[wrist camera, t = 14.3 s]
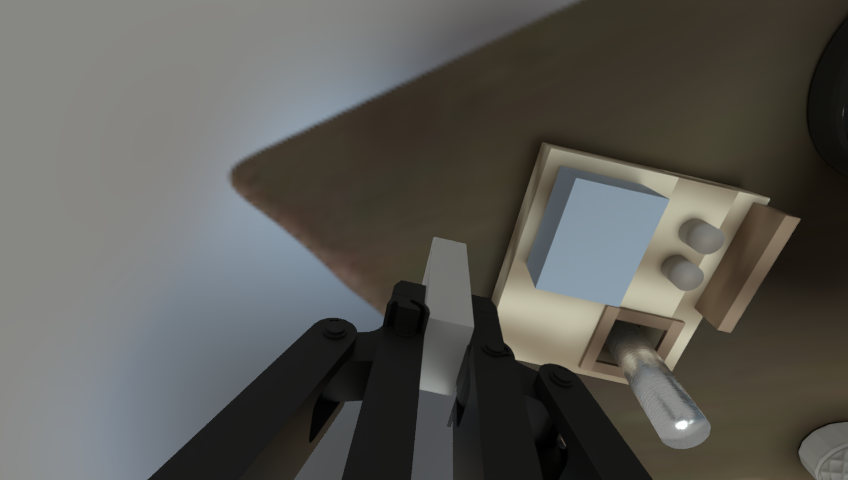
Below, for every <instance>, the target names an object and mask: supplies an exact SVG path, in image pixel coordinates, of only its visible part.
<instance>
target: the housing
mask: <svg viewBox="0 0 848 480" xmlns="http://www.w3.org/2000/svg"><path fill="white" fill-rule="evenodd" d="M669 200H670V199H668V198H667V197H665V196H663V195H661V194H659V193H657V192H656V191H654V190H652V189H650V188H648V187H646V186H645V185H643V184H638V183H634V182H630V181H625V180H621V179H617V178H612V177H608V176H604V175H599V174H595V173H591V172H586V171H582V170H577V169H573V168H569V167H564V166H561V167H560V169H559V172H558V175H557V178H556V181H555V184H554V187H553V189H552V192H551V195H550V198H549V201H548V204H547V207H546V209H545V212H544V215H543V218H542V221H541V224H540V227H539V230H538V232H537V235H536V238H535V241H534V244H533V247H532V250H531V252H530V255H529V258H528V261H527V264H526V266H527V269H528V271H529V274H530V276H531V279H532V281H533V284H534V287H535V289H540V290H544V291H548V292H553V293H557V294H562V295H566V296H571V297H575V298H579V299H584V300H588V301H593V302H597V303H602V304H606V305H610V306H615V307H619V306H620V304H621V302H622V300H623V298H624V296H625V294H626V291H627V289H628V287H629V285H630V283H631V281H632V279H633V277H634V274H635V272H636V270H637V268H638V266H639V264H640V262H641V260H642V258H643V255H644V253H645V251H646V249H647V247H648V245H649V243H650V241H651V238H652V236H653V234H654V232H655V230H656V228H657V226H658V224H659V222H660V219H661V217H662V215H663V213H664V211H665V209H666V207H667V205H668V202H669Z"/></svg>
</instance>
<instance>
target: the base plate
mask: <svg viewBox="0 0 848 480" xmlns="http://www.w3.org/2000/svg"><path fill="white" fill-rule="evenodd" d="M561 166H564V167H569V168H573V169H577V170H582V171H586V172H591V173H595V174H599V175H604V176H608V177H612V178H617V179H621V180H625V181H630V182H634V183H638V184H643V185H645V186H646V187H648V188H650V189H652V190H654V191H656V192H657V193H659V194H661V195H663V196H665V197H667V198H668V199H670V200H669V202H668V205H667V207H666V209H665V211H664V213H663V215H662V217H661V219H660V222H659V224H658V226H657V228H656V230H655V232H654V234H653V236H652V238H651V241H650V243H649V245H648V247H647V249H646V251H645V253H644V255H643V258H642V260H641V262H640V264H639V266H638V268H637V270H636V272H635V274H634V277H633V279H632V281H631V283H630V285H629V287H628V289H627V291H626V294H625V296H624V298H623V300H622V302H621V304H620V306H619V307H615V306H610V305H606V304H602V303H597V302H593V301H588V300H584V299H579V298H575V297H571V296H566V295H562V294H557V293H553V292H548V291H544V290H540V289H535V287H534V284H533V281H532V279H531V276H530V274H529V271H528V269H527V266H526V264H527V261H528V258H529V255H530V252H531V250H532V247H533V244H534V241H535V238H536V235H537V232H538V230H539V227H540V224H541V221H542V218H543V215H544V212H545V209H546V207H547V204H548V201H549V198H550V195H551V192H552V189H553V187H554V184H555V181H556V178H557V175H558V172H559V169H560V167H561ZM769 201H770V198H767V197H765V196H762V195H759V194H757V193H754V192H751V191H748V190H746V189H743V188H739V187H735V186H731V185H726V184H722V183H718V182H713V181H709V180H705V179H700V178H696V177H692V176H687V175H683V174H679V173H674V172H670V171H666V170H661V169H657V168H653V167H648V166H644V165H640V164H635V163H631V162H627V161H622V160H618V159H614V158H609V157H605V156H601V155H596V154H592V153H588V152H583V151H579V150H575V149H570V148H566V147H562V146H558V145H553V144H549V143H545V142H542V144H541V148H540V151H539V154H538V157H537V160H536V163H535V166H534V169H533V172H532V175H531V178H530V181H529V185H528V188H527V191H526V194H525V197H524V200H523V203H522V206H521V209H520V212H519V215H518V219H517V222H516V225H515V228H514V231H513V234H512V237H511V240H510V243H509V246H508V249H507V252H506V256H505V259H504V262H503V265H502V268H501V271H500V274H499V277H498V280H497V283H496V286H495V290H494V293H493V296H492V299H491V301H492V302H493V303H494V304H495V306H496V307H497V311H498V316H499V321H500V322H499V323H500V326H501V331H502V335H503V340H504V343H506V344H507V345H508V346H509V347H510V348H511V349H512V351H513V353H514V356H515V359H516V360H521V361H525V362H530V363H534V364H539V365H544V364H548V363H552V364H558V365H561V366H563V367H566V368H568V369H569V370H570V371H572V372H575V373H579V374H584V375H588V376H593V377H597V378H602V379H606V380H611V381H615V382H620V383H624V384H629V383H628V381H627V380H626V378H625V376H624V374H623V373H622V371H621V369H620V367H619V366H618V364H617V362H616V361H615V359H614V357H613V355H612V354H611V352H610V350H609V348H608V347H607V345H606V343H605V340H606V338H607V336H608V334H609V332H610V330H611V328H612V326H613V324H614V321H615V319H617V320H622V321H626V322H631V323H635V324H640V325H641V326H640V327H639V329H640V330H641V332H642V333H643V334H644V336H645V337H646V339H647V340H648V341H649V343H650V344H651V345H652V347H653V348H654V349H655V351H656V352H657V353H658V355H659V356H660V357H661V359H662V360H663V361H664V363H665V364H666V365H667V367H668V368H669V369H670V371H672V370H673V368H674V366H675V364H676V363H677V361H678V359H679V357H680V356H681V354H682V352H683V351H684V349H685V347H686V345H687V344H688V342H689V340H690V338H691V337H692V335H693V333H694V331H695V330H696V328H697V326H698V324H699V323H700V321H701V319H702V317H704V318H705V319H706V320H707V321H708V322H710V323H711V324H712V325H713V326H714V327H715V328H716V329H717V330H720V331H725V332H729V333H731V331H732V330H733V328H734V327H735V325H736V323H737V322H738V320H739V318H740V317H741V315H742V314H743V312H744V310H745V309H746V307H747V306H748V304H749V302H750V301H751V299H752V297H753V296H754V294H755V293H756V291H757V289H758V288H759V286H760V284H761V283H762V281H763V280H764V278H765V276H766V275H767V273H768V271H769V270H770V268H771V267H772V265H773V263H774V262H775V260H776V259H777V257H778V255H779V254H780V252H781V250H782V249H783V247H784V246H785V244H786V242H787V241H788V239H789V237H790V236H791V234H792V233H793V231H794V229H795V228H796V226H797V224H798V223H799V221H800V220H801V219H800V218H798V217H795V216H792V215H790V214H787V213H785V212H782V211H780V210H777V209H775V208H772V207H770V206H767V204H768V202H769Z"/></svg>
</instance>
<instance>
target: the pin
mask: <svg viewBox="0 0 848 480" xmlns="http://www.w3.org/2000/svg"><path fill="white" fill-rule="evenodd" d="M605 343H606V345H607V347H608V348H609V350H610V352H611V354H612V355H613V357H614V359H615V361H616V362H617V364H618V366H619V367H620V369H621V371H622V373H623V374H624V376H625V378H626V380H627V381H628V383H629V385H630V387H631V388H632V390H633V392H634V393H635V395H636V397H637V399H638V400H639V402H640V404H641V406H642V407H643V409H644V411H645V412H646V414H647V416H648V418H649V419H650V421H651V423H652V425H653V426H654V428H655V430H656V431H657V433H658V435H659V437H660V438H661V440H662V442H663V443H664V444H666V445H667V446H669V447H672V448H676V449H687V448H691V447H694V446H697V445H699V444H700V443H702V442H703V441H704V440H705V439H706V438H707V437H708V435H709V433H710V430H711V427H710V423H709V421H708V420H707V419H706V417H705V416H704V415H703V413H702V412H701V411H700V409H699V408H698V407H697V405H696V404H695V403H694V401H693V400H692V399H691V397H690V396H689V395H688V393H687V392H686V391H685V389H684V388H683V387H682V385H681V384H680V383H679V381H678V380H677V379H676V377H675V376H674V375H673V373H672V372H671V371H670V369H669V368H668V367H667V365H666V364H665V363H664V361H663V360H662V359H661V357H660V356H659V355H658V353H657V352H656V351H655V349H654V348H653V347H652V345H651V344H650V343H649V341H648V340H647V339H646V337H645V336H644V334H643V333H642V332H641V330H640V329H639V328H638V326H637V325H636V324H635V323H631V322H626V321H622V320H617V319H615V321H614V324H613V326H612V328H611V330H610V332H609V334H608V336H607V338H606V340H605Z"/></svg>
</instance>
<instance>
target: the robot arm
mask: <svg viewBox="0 0 848 480" xmlns="http://www.w3.org/2000/svg"><path fill="white" fill-rule="evenodd" d="M808 118H809V127H810V131H811V135H812V138H813V141H814V143H815V146H816V147H817V149H818V151H819V153H820V154H821V155H822V157H823V158H824V159H825V160H826V161H827V163H829V164H830V165H831V166H832V167H833V168H834V169H836V170H837V171H839V172H840V173H842V174H844V175H846V176H848V19H847V20H846V21H845V22H844V24H843V25H842V26H841V28H840V29H839V30H838V32H837V33H836V35H835V36H834V38H833V39H832V41H831V42H830V44H829V46H828V47H827V49H826V51H825V53H824V55H823V57H822V59H821V61H820V63H819V66H818V68H817V71H816V74H815V76H814V80H813V83H812V87H811V91H810V97H809V107H808ZM499 322H500V321H499V316H498V311H497V307H496V306H495V304H494V303H493V302H492V301H491V299H489V298H485V297H480V296H475V295H471V289H470V279H469V269H468V259H467V249H466V244H464V243H460V242H455V241H451V240H446V239H442V238H437V237H433V242H432V246H431V250H430V254H429V258H428V262H427V266H426V271H425V275H424V279H423V283H422V285H421V284H416V283H412V282H407V281H403V280H401V281H400V282H398V283H397V284H396V285H395V286H394V289H393V293H392V297H391V300H390V301H389V302H388V303H387V308H386V313H385V317H384V322H383V326H381V327H380V328H379V329H377V330H375V331H371V332H357V329H356V328H355V326H354V325H353V324H352V323H350V322H348V321H346V320H343V319H339V318H327V319H323V320H320V321H318V322H317V323H315V324H314V325H313V326H312V327H311V328H309V329H308V330H307V331H306V332H305V333H304V334H303V335H302V336H301V337H300V338H299V339H298V340H297V341H296V342H294V343H293V344H292V345H291V346H290V347H289V348H288V349H287V350H286V351H285V352H284V353H283V354H282V355H281V356H279V358H277V359H276V360H275V361H274V362H273V363H272V364H271V365H270V366H269V367H268V368H267V369H266V370H265V371H263V372H262V373H261V374H260V375H259V376H258V377H257V378H256V379H255V380H254V381H253V382H252V383H251V384H250V385H249V386H247V387H246V388H245V389H244V390H243V391H242V392H241V393H240V394H239V395H238V396H237V397H236V398H235V399H234V400H233V401H231V402H230V403H229V404H228V405H227V406H226V407H225V408H224V409H223V410H222V411H221V412H220V413H219V414H217V415H216V416H215V417H214V418H213V419H212V420H211V421H210V422H209V423H208V424H207V425H206V426H205V427H204V428H203V429H201V430H200V431H199V432H198V433H197V434H196V435H195V436H194V437H193V438H192V439H191V440H190V441H189V442H188V443H186V444H185V445H184V446H183V447H182V448H181V449H180V450H179V451H178V452H177V453H176V454H175V455H174V456H173V457H172V458H170V460H168V461H167V462H166V463H165V464H164V465H163V466H162V467H161V468H160V469H159V470H158V471H157V472H155V473H154V474H153V475H152V476H151V477H150V478H149V479H148V480H294V478H295V477H296V475H297V474H298V473H299V471H300V470H301V468H302V467H303V465H304V464H305V462H306V461H307V459H308V458H309V456H310V455H311V453H312V452H313V451H314V449H315V448H316V446H317V445H318V443H319V442H320V440H321V439H322V437H323V436H324V434H325V433H326V431H327V430H328V428H329V427H330V426H331V424H332V422H333V421H334V420H335V418H336V417H337V415H338V414H339V412H340V411H341V409H342V408H343V406H344V403H345V401H361V400H363V402H362V406H361V409H360V413H359V417H358V420H357V425H356V428H355V432H354V435H353V439H352V443H351V447H350V450H349V454H348V458H347V461H346V465H345V469H344V473H343V476H342V480H411V473H412V462H413V451H414V441H415V430H416V420H417V408H418V398H419V389H421V390H425V391H431V392H435V393H440V394H444V395H449V396H453V394H454V390H455V387H456V384H457V396H456V399H455V402H454V405H453V408H452V411H451V415H450V418H449V421H448V424H447V426H448V427H451V424H452V421H453V480H653V479H652V478H651V477H650V475H649V474H648V472H647V471H646V470H645V468H644V467H643V466H642V464H641V463H640V461H639V460H638V459H637V457H636V456H635V454H634V453H633V452H632V450H631V449H630V447H629V446H628V445H627V443H626V442H625V441H624V439H623V438H622V436H621V435H620V434H619V432H618V431H617V429H616V428H615V427H614V425H613V424H612V423H611V421H610V420H609V418H608V417H607V416H606V414H605V413H604V411H603V410H602V409H601V407H600V406H599V404H598V403H597V402H596V400H595V399H594V398H593V396H592V395H591V393H590V392H589V391H588V389H587V388H586V386H585V385H584V384H583V382H582V381H581V379H580V378H579V377H578V376H577V375H576V374H575V373H573V372H572V371H570V370H569V369H568V368H566V367H563V366H561V365H558V364H552V363H548V364H544V365H542V366H541V367H540V368H539V371H535V370H533V369H531V368H529V367H526V366H524V365H522V364H520V363H519V362H517V361H516V360H515V356H514V353H513V351H512V349H511V348H510V347H509V346H508V345H507V344H506V343H504V340H503V335H502V331H501V326H500V323H499ZM561 437H562V438H563V440H564V442H565V444H566V447H565V445H564V444H563V442H562V440H561Z"/></svg>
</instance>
